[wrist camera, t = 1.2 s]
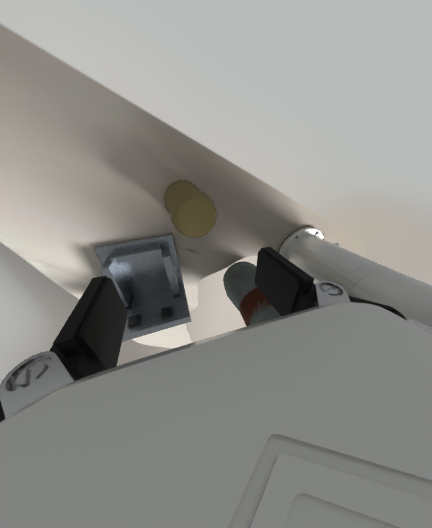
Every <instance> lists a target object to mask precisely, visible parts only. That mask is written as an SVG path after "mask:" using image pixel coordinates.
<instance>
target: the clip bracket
mask: <svg viewBox="0 0 432 528" xmlns="http://www.w3.org/2000/svg"><path fill="white" fill-rule="evenodd" d="M94 251H95V253H96V254H97V256H98V258H99V260H100V262H101V264H102V267H101V269H100V271H101V273H102V275H103V276H107V277H108V278H111V279H112V281H113V283H114V285H115V287H116V289H117V291H118V293H119V296H120V298H121V300H122V302H123V304H124V306H125V308H126V310H127V320H126V325H125V329H124V334H123V338H122V342H123V341H126V340H129V339H133V338H136V337H140V336H143V335H147V334H150V333H153V332H157V331H160V330H164V329H167V328H170V327H174V326H177V325H181V324H184V323H187V322H191V318H190V313H189V308H188V303H187V298H186V294H185V289H184V284H183V280H182V275H181V271H180V267H179V262H178V258H177V254H176V249H175V245H174V241H173V236H172V234H166V235H160V236H155V237H149V238H143V239H137V240H131V241H125V242H119V243H113V244H107V245H101V246H96V247H95V248H94Z"/></svg>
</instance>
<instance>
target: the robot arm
mask: <svg viewBox="0 0 432 528" xmlns="http://www.w3.org/2000/svg"><path fill="white" fill-rule="evenodd" d="M255 285H256V286H257V288H258V289H259V290H260V291H261V293H262V294H263V295H264V296H265V297H266V299H267V300H268V301H269V302H270V303H271V305H272V306H273V307H274V308H275V309H276V311H277V312H278V313H279V314H280V316H281V317H278V318H274V319H271V320H268V321H264V322H261V323H257V324H254V325H251V326H247V327H244V328H241V329H237V330H234V331H230V332H227V333H224V334H220V335H217V336H214V337H210V338H207V339H204V340H200V341H197V342H194V343H190V344H187V345H184V346H181V347H177V348H174V349H171V350H168V351H164V352H161V353H158V354H155V355H151V356H148V357H145V358H141V359H138V360H135V361H132V362H129V363H126V364H123V365H119V366H116V365H117V361H118V356H119V352H120V347H121V343H122V338H123V334H124V329H125V325H126V320H127V310H126V308H125V306H124V304H123V302H122V300H121V298H120V296H119V293H118V291H117V289H116V287H115V285H114V283H113V281H112V279H111V278H108V277H107V276H102V277H96V278H93V279H92V280H91V282H90V284H89V285H88V287H87V289H86V290H85V292H84V293H83V295H82V297H81V298H80V300H79V302H78V304H77V305H76V307H75V308H74V310H73V312H72V313H71V315H70V316H69V318H68V320H67V321H66V323H65V325H64V326H63V328H62V329H61V331H60V333H59V335H58V336H57V338H56V339H55V341H54V343H53V346H52V348H51V349H50V351H46V352H41V353H38V354H36V355H33V356H31V357H29V358H28V359H26V360H24V361H23V362H21V363H20V364H18V365H17V366H16V367H15V368H14V369H12V370H11V371H10V372H9V373H8V374H7V375H6V377H5V378H4V379H3V380H2V382H1V384H0V528H432V286H431V285H428V284H426V283H423V282H421V281H418V280H416V279H414V278H411V277H408V276H406V275H404V274H401V273H399V272H397V271H394V270H392V269H390V268H387V267H385V266H383V265H380V264H378V263H376V262H374V261H371V260H369V259H366V258H364V257H362V256H360V255H357V254H355V253H353V252H350V251H348V250H346V249H343V248H341V247H339V244H338V243H333V244H332V243H330V242H327V241H325V240H324V236H323V234H322V232H321V231H320V230H318V229H315V228H312V227H306V228H302V229H300V230H298V231H296V232H294V233H293V234H292V235H290V236H289V237H288V238H287V239H286V241H285V242H284V243H283V245H282V246H281V248H280V250H279V253H278V252H276V251H275V250H273V249H272V248H271V247H266V248H261V250H260V251H259V252H258V259H257V267H256V275H255Z"/></svg>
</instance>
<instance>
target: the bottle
mask: <svg viewBox="0 0 432 528" xmlns="http://www.w3.org/2000/svg"><path fill="white" fill-rule="evenodd" d="M255 275H256V266H255V265H253V264H251V263H249V262H238V263H235V264H233V265H232V266H230V267H229V268H228V270H227V271H226V273H225V275H224V279H223V281H224V287H225V290H226V293H227V296H228V297H229V298H230V300H231V301H232V302H233V304H234V305H235V306H236V308H237V309H238V310H239V311H240V313H241V315H242V317H243V319H244V321H245V324H246V326H251V325H254V324H257V323H261V322H264V321H268V320H271V319H274V318H278V317H281V316H280V314H279V313H278V312H277V311H276V309H275V308H274V307H273V306H272V305H271V303H270V302H269V301H268V300H267V299H266V297H265V296H264V295H263V294H262V293H261V291H260V290H259V289H258V288H257V286H256V285H255Z"/></svg>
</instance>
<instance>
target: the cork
mask: <svg viewBox="0 0 432 528" xmlns="http://www.w3.org/2000/svg"><path fill="white" fill-rule="evenodd" d="M164 200H165V206H166V208H167V210H168V212H169V213H170V214H171V219H172V222H173V224H174V226H175V228H176V229H177V230H178V231H179V232H180V233H181V234H183V235H185V236H187V237H192V238H196V237H201V236H203V235H206V234H207V233H208V232H209V231H210V230H211V229H212V228H213V226H214V224H215V221H216V209H215V206H214V203H213V201H212V200H211V199H210V197H208V196H207V195H206V194H204V193H203V192H200V191H199V190H198V189H197V187H196V186H195V185H193V184H192V183H190V182H187V181H177V182H174V183H172V184H171V185H170V186H169V187H168V189H167V191H166V193H165V198H164Z"/></svg>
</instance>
